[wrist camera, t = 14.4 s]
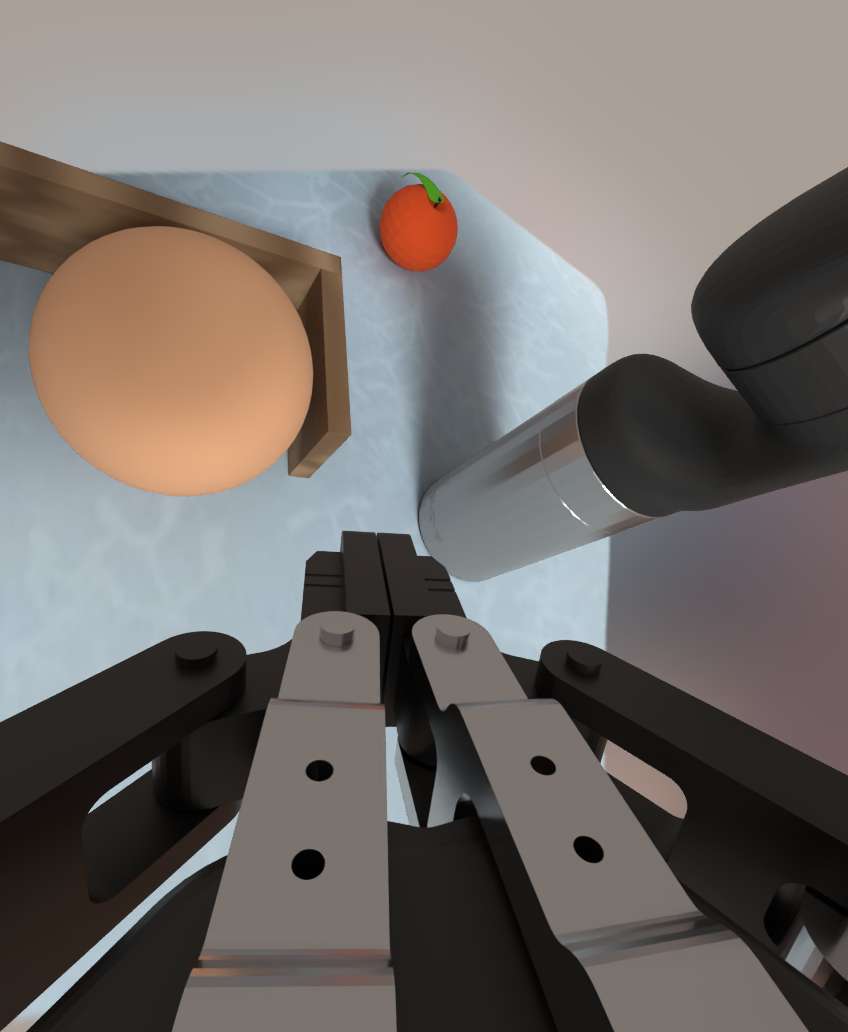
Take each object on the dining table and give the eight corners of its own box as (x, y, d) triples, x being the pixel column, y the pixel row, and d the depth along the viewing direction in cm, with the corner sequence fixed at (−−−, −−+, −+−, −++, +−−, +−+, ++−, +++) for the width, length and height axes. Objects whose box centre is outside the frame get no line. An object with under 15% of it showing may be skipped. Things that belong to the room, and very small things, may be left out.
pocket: (303, 320, 45) (340, 257, 39) (308, 478, 41) (351, 434, 35) (-75, 219, 33) (-106, 105, 27) (-120, 427, 29) (-168, 348, 23)
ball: (232, 529, 39) (235, 346, 42) (368, 483, 30) (360, 255, 33) (-19, 499, 29) (10, 260, 32) (72, 417, 20) (100, 95, 23)
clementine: (348, 214, 51) (384, 149, 45) (406, 213, 55) (445, 153, 50) (388, 291, 51) (429, 235, 45) (442, 284, 55) (486, 232, 49)
